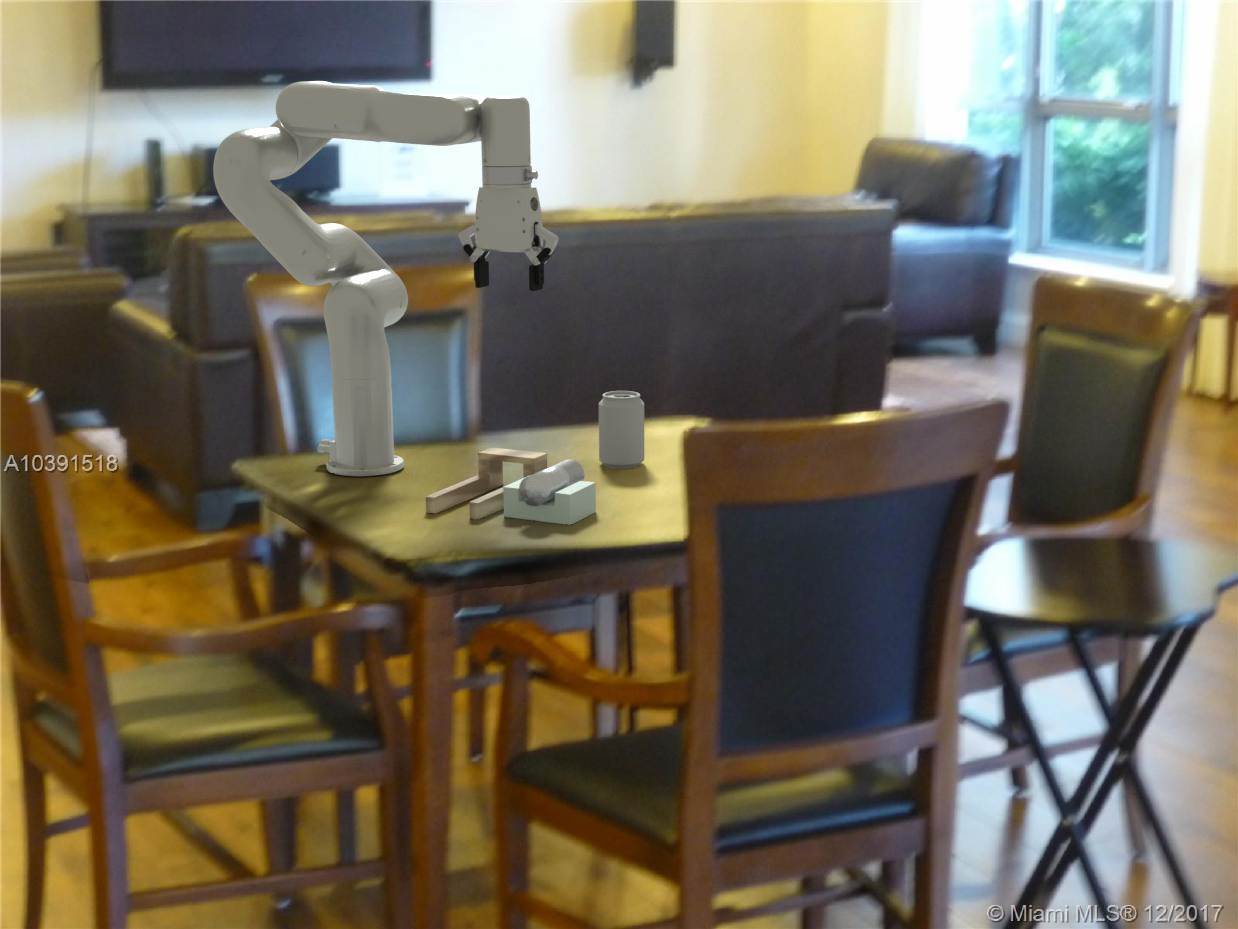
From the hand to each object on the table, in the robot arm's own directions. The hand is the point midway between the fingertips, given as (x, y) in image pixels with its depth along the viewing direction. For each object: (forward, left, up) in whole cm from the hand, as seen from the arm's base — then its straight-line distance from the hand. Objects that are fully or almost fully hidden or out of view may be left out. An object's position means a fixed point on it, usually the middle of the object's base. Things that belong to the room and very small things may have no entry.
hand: (509, 288), depth 267 cm
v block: (+17, -18, -30) cm, 39 cm away
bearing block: (+4, -15, -30) cm, 34 cm away
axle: (+16, -17, -28) cm, 36 cm away
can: (+12, +15, -31) cm, 36 cm away
